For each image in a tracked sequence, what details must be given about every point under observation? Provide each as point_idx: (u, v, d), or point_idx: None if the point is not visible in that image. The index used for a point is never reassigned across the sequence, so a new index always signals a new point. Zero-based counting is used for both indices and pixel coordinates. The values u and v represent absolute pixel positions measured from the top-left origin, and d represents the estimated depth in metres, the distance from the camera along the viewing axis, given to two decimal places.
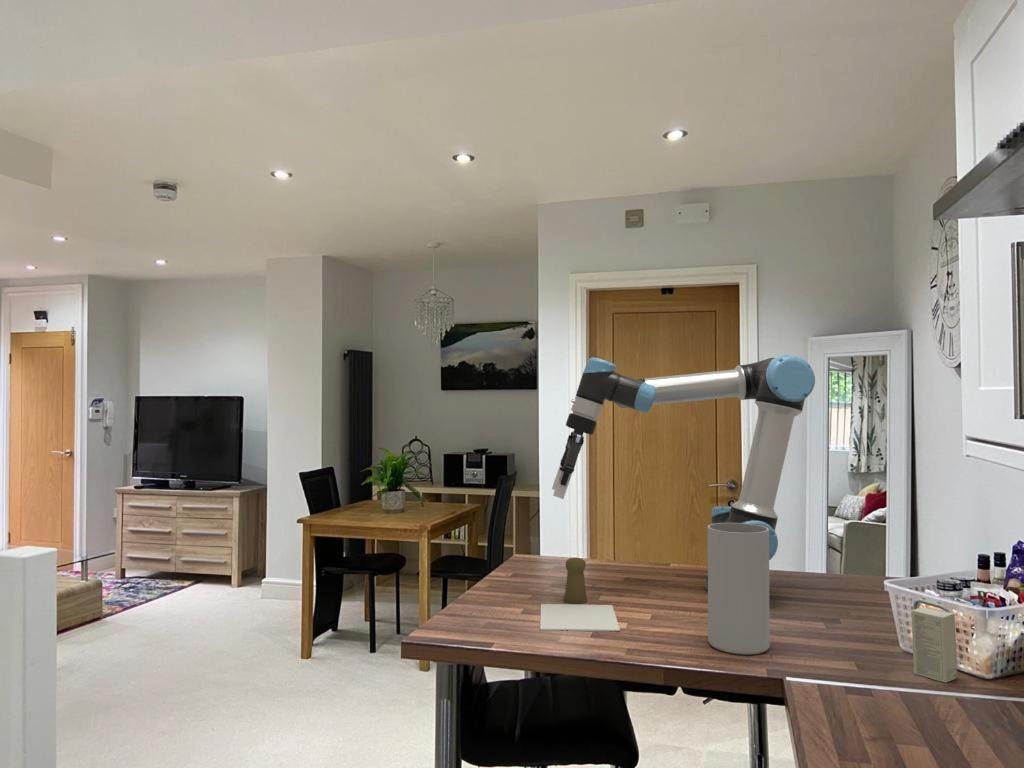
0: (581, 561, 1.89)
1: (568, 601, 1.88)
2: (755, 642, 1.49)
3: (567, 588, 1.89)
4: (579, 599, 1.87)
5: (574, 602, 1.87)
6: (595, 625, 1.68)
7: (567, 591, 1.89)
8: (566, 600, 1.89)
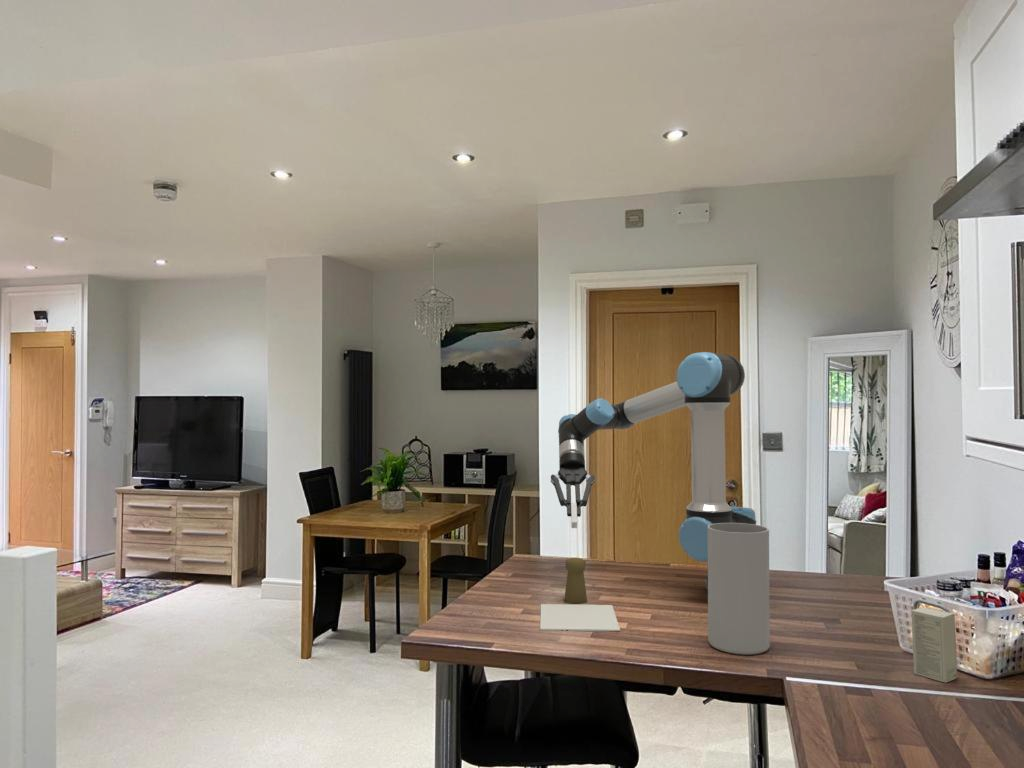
0: (581, 561, 1.89)
1: (568, 601, 1.88)
2: (755, 642, 1.49)
3: (567, 588, 1.89)
4: (579, 599, 1.87)
5: (574, 602, 1.87)
6: (595, 625, 1.68)
7: (567, 591, 1.89)
8: (566, 600, 1.89)
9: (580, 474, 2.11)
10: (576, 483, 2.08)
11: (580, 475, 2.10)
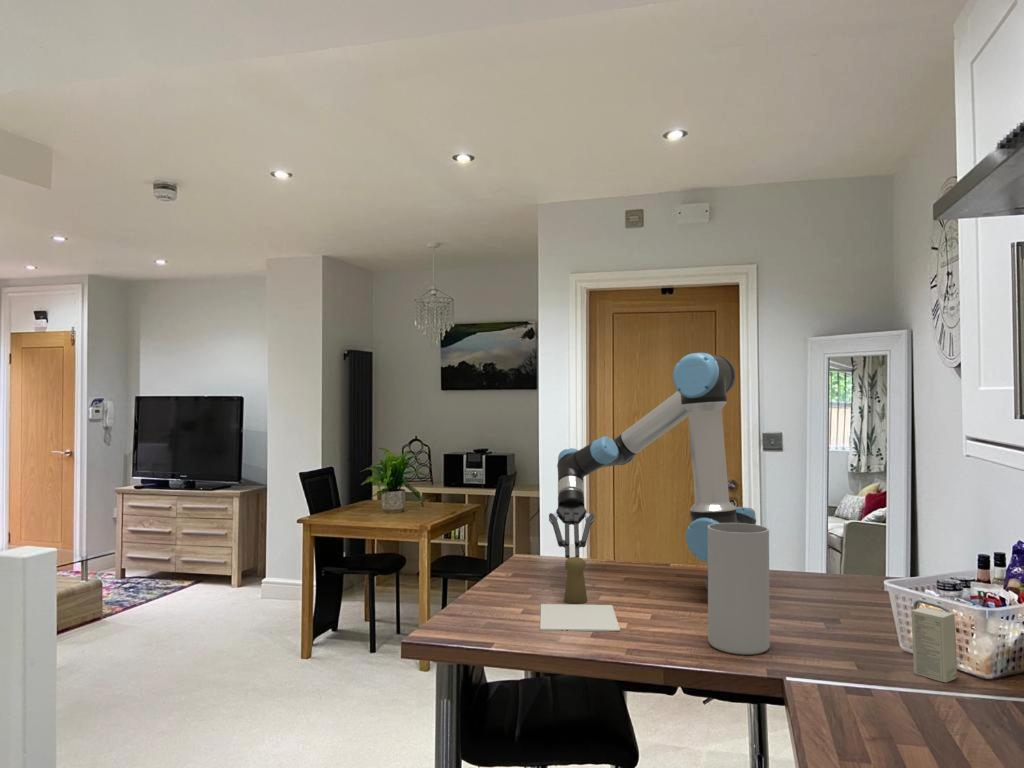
0: (581, 562, 1.88)
1: (568, 601, 1.88)
2: (755, 642, 1.49)
3: (567, 588, 1.89)
4: (578, 599, 1.87)
5: (574, 602, 1.87)
6: (595, 625, 1.68)
7: (567, 591, 1.89)
8: (566, 600, 1.89)
9: (579, 513, 2.04)
10: (575, 523, 2.02)
11: (579, 514, 2.04)
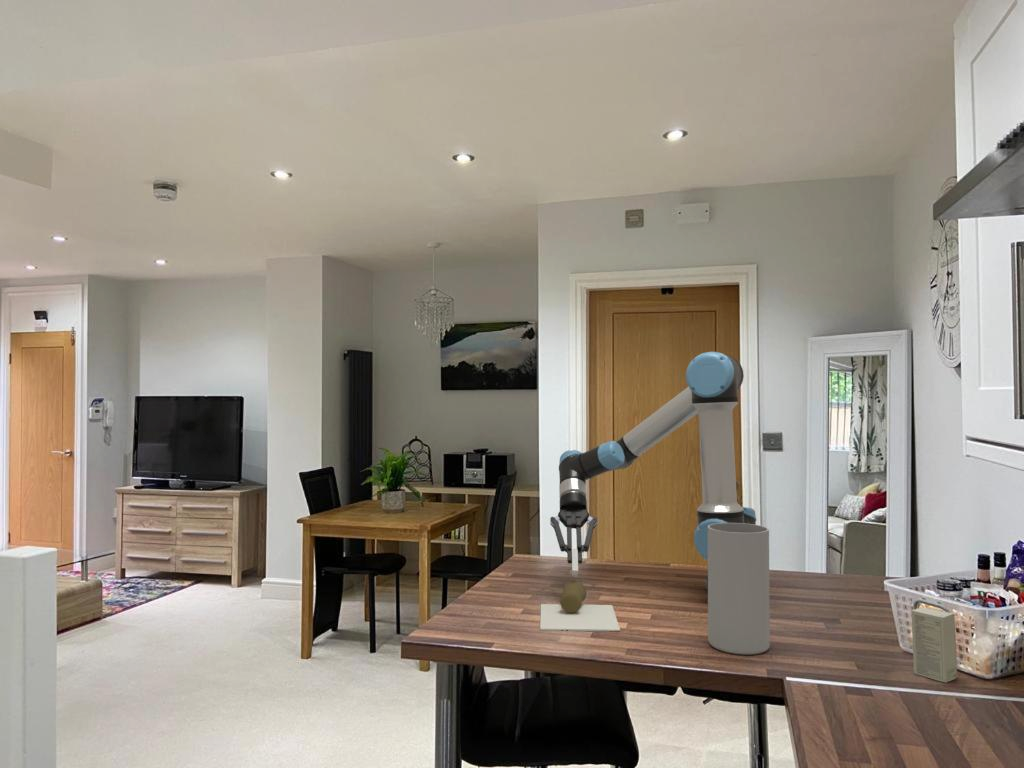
0: (577, 609, 1.77)
1: None
2: (755, 642, 1.49)
3: None
4: None
5: None
6: (595, 625, 1.68)
7: None
8: None
9: (582, 516, 1.98)
10: (577, 526, 1.95)
11: (581, 517, 1.98)
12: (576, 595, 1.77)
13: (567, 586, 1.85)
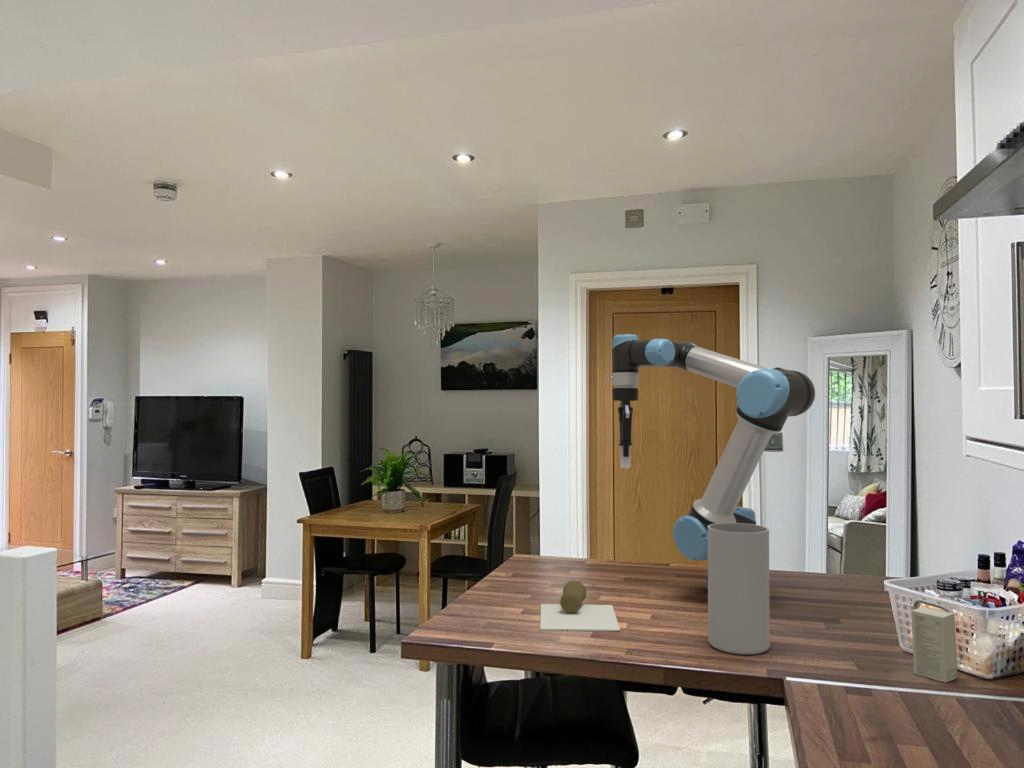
0: (577, 609, 1.77)
1: None
2: (755, 642, 1.49)
3: None
4: None
5: None
6: (595, 625, 1.68)
7: None
8: None
9: None
10: None
11: None
12: (576, 595, 1.77)
13: (567, 586, 1.85)
